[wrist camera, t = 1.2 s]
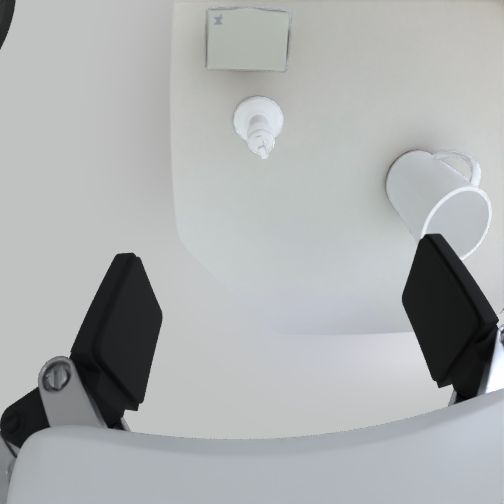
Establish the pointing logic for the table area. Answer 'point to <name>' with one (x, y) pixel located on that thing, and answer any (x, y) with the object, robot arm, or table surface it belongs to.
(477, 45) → the table surface
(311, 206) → the table surface
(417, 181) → the mug
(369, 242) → the table surface
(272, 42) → the box
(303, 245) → the table surface
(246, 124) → the chess piece
